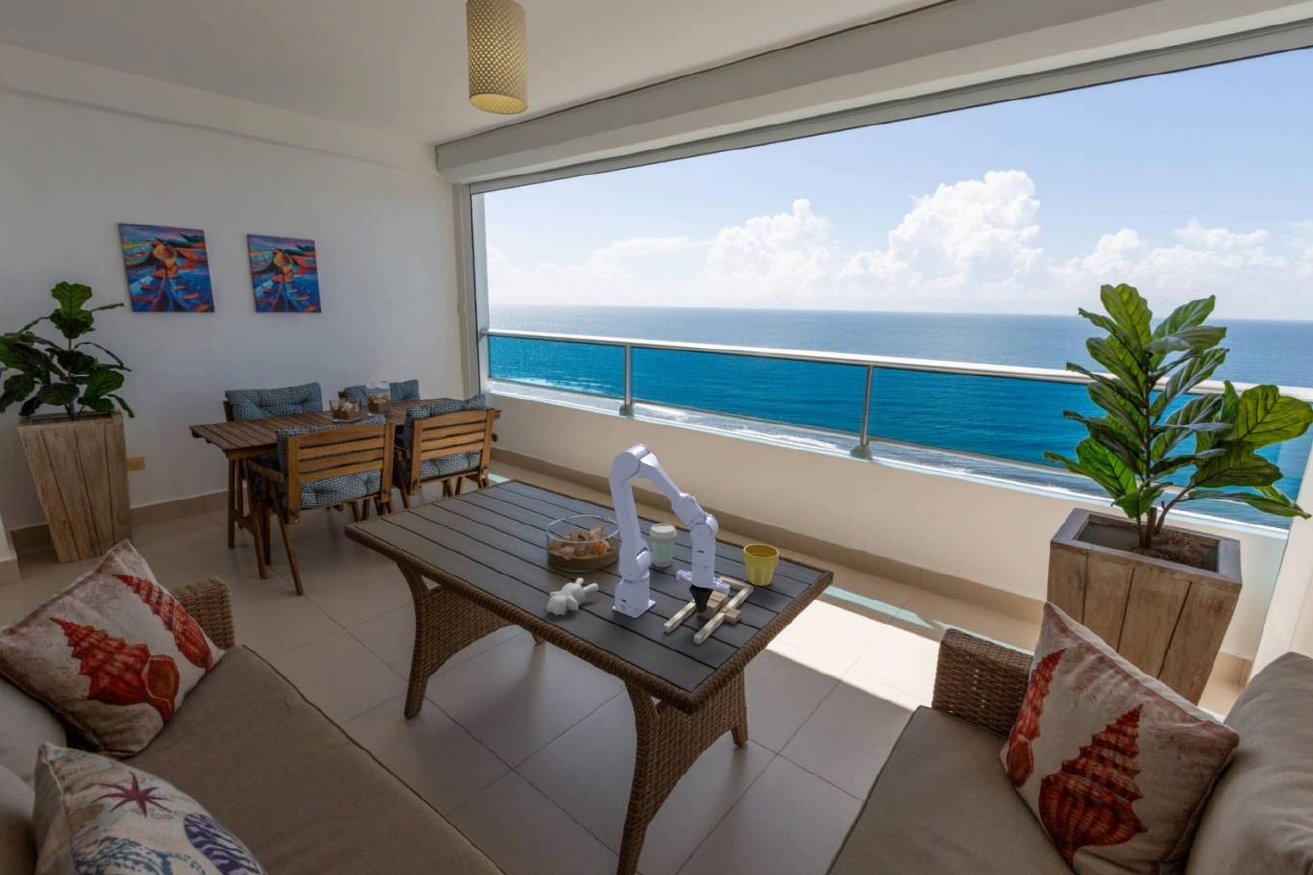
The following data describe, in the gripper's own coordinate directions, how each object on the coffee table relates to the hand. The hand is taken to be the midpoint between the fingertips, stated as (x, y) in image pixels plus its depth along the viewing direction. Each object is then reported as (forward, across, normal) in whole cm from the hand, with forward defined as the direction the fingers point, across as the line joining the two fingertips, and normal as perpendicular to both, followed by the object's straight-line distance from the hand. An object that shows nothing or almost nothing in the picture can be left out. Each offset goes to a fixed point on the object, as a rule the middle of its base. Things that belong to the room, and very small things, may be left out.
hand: (701, 611), depth 144 cm
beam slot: (+2, -1, -6) cm, 6 cm away
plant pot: (+3, -4, -29) cm, 29 cm away
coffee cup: (+3, +26, -22) cm, 34 cm away
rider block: (+3, 0, -5) cm, 6 cm away
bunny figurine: (+3, +33, +13) cm, 36 cm away
